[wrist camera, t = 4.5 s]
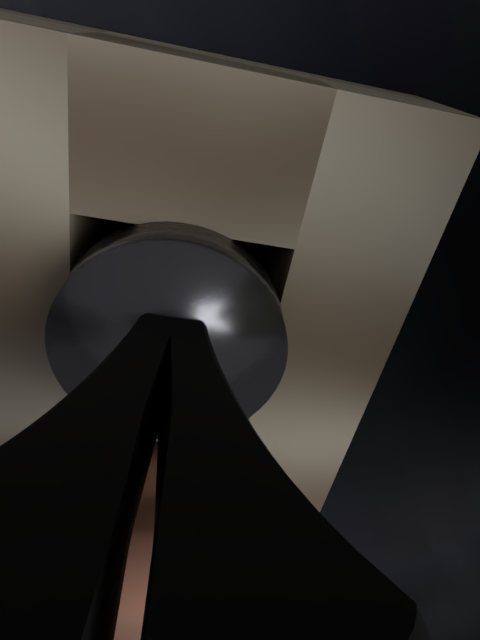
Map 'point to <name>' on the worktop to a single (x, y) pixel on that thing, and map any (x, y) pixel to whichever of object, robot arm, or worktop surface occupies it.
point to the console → (223, 206)
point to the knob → (171, 304)
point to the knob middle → (138, 562)
